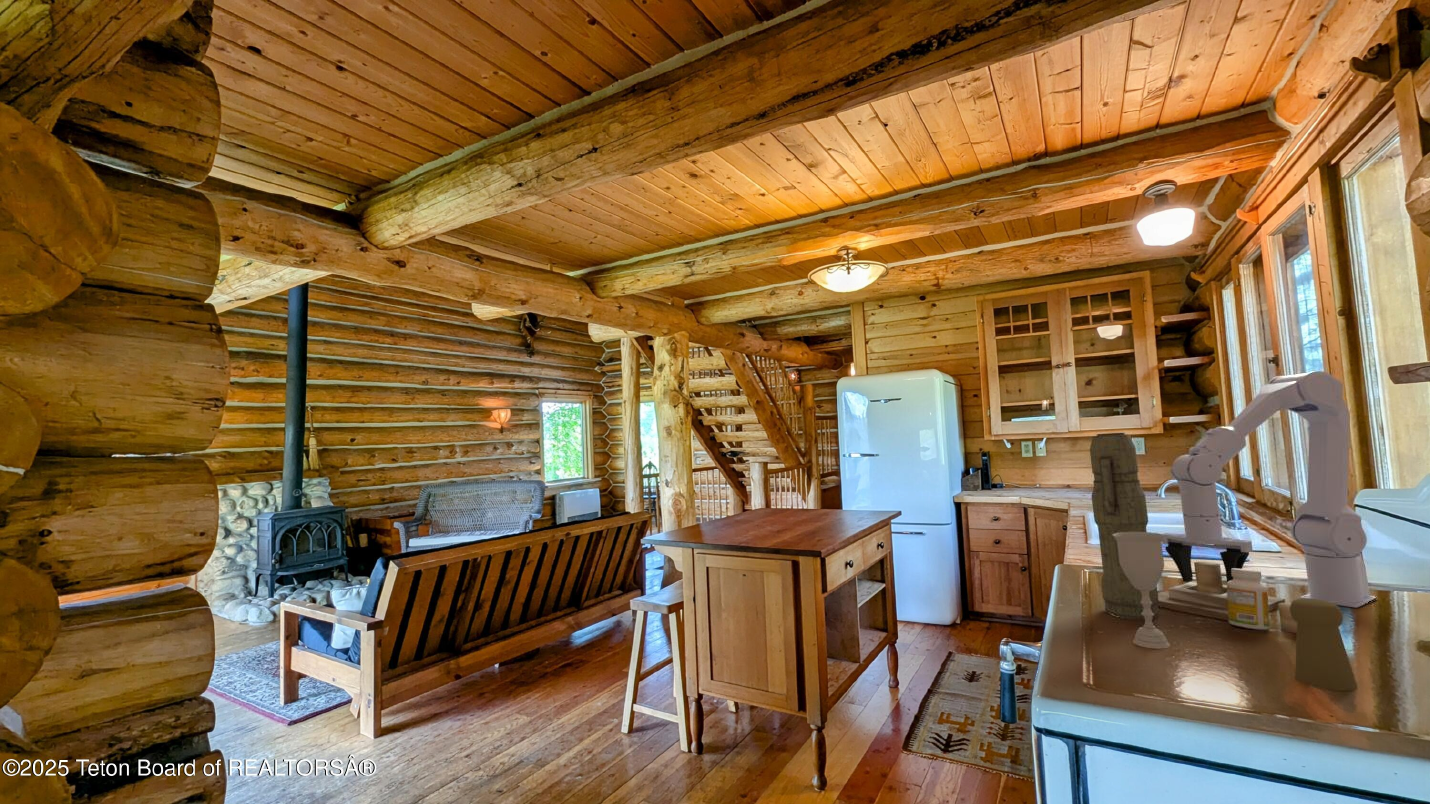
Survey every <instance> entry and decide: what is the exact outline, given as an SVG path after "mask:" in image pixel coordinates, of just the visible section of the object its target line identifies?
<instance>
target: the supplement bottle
mask: <svg viewBox="0 0 1430 804" xmlns="http://www.w3.org/2000/svg"><path fill="white" fill-rule="evenodd" d="M1231 575H1232V576H1233V580H1230V581H1228V582H1227V581H1226V585H1227V599H1228V619H1229V620H1228V623H1229V624H1230V625H1232V626H1236V627H1241V628H1245V629H1250V630H1259V631H1260V630H1262V631H1264V630H1265V631H1267V630H1269V629H1270V613H1269V612H1270V611H1269V609H1268V596H1269V593H1268V587H1267V586H1266V585H1265V584H1263V583H1261V580H1262V578H1263V576H1262V571H1260V570H1254V569H1247V568H1242V569H1238V568H1232V569H1231Z"/></svg>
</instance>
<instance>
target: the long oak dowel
mask: <svg viewBox="0 0 1430 804" xmlns="http://www.w3.org/2000/svg"><path fill="white" fill-rule="evenodd" d="M1193 565H1194V572H1195V581H1196V582H1197V590H1198V591H1201V592H1207V593H1213V594H1219V595H1221V594H1224V591H1223V585H1224V584H1223V577H1222V576H1223V575H1222V568H1221V563H1219V562H1215V561H1194V562H1193Z"/></svg>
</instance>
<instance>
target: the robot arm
mask: <svg viewBox="0 0 1430 804" xmlns="http://www.w3.org/2000/svg"><path fill="white" fill-rule="evenodd" d="M1343 393H1344V384H1343V382H1341V381H1340V380H1339V379H1338V378H1336V377H1334V376H1333V375H1332V374H1330V373H1329V372H1327V371H1321V370H1314V371H1310V372H1305V373H1304V372H1303V373H1298V374H1297V373H1296V374H1291V375H1290V374H1289V375H1278V376H1274V377H1273V378H1271V379H1270V380H1269V381H1268V382H1267V384H1265V385H1263V386H1262V387H1260V389H1259V391H1258V394H1257V395H1256V396H1255V397H1254V398H1253V399H1252V400H1251V401H1250V402H1249V403H1248V404H1247V405H1246V406H1245V407H1244V409H1242V411H1241V412H1240V413H1239V414H1238V415H1237V416H1236V417H1235V418H1234V419H1233V420H1232V421H1230V423H1229V424H1228V425H1227V426H1217V427H1215V428H1209V429H1208V430H1207V431H1206V432H1205V434H1206V436H1205V437H1204V438H1203V439H1202V440H1201V441H1199V443H1197V444H1196V445H1195V446H1191V447H1190V448H1189V449H1188V454H1184V455H1180V456H1178V457H1177V458H1176V459H1175V460H1174V462H1173V463H1172V466H1171V467H1172V468H1170V469H1169V471H1170V472H1169V473H1170V474H1171V476H1172V477H1173V479H1175V480H1176V482H1177V485H1178V488H1179V495H1180V503H1181V511H1182V517H1183V525H1184V533H1171V532H1166V533H1162V534H1163V535H1164V536H1165V537H1164V539H1163V541H1162V545H1163V544H1164V545H1165V544H1166V545H1167V546H1165V548H1164V549H1165V551H1166V552H1167V554H1168V555H1169V556H1170V558H1171V559H1172V561H1173V563H1174V564H1175V566H1176V567H1177V569H1178V571H1179V573H1180V576H1181V579H1182V581H1183V582H1185V583H1189V582H1192V581H1193V580H1194V579H1193V577H1194V576H1193V569H1192V548H1193V547H1199V548H1209V549H1218V550H1224V551H1220V552H1219V555H1220V557H1221V561H1222V563H1223V565H1224V569H1225V576H1226V583H1227V582H1228V581H1230V580H1233V576H1232V575H1231V569H1232V568H1238V569H1243V566H1244V565H1245V562H1246V561H1247V558H1248V557H1249V554H1250V553H1251V552H1253V551H1254V550H1253V544H1252V543H1253V542H1252V540H1244V539H1239V538H1233V537H1225V536H1223V531H1222V530H1223V529H1222V524H1221V523H1222V522H1221V515H1220V509H1219V502H1218V492H1217V485H1216V482H1217V481H1219V480H1220V479H1221V478H1222V475H1223V474H1222V473H1223V468H1224V467H1225V466H1226V465H1227V464H1228V463H1229V462H1230V461H1231V460H1233V458H1234V457H1236V456H1237V455H1238V454H1239V453H1240V452H1241V451H1242V450H1243V449H1245V448H1246V445H1247V440H1246V437H1248V436H1249V435H1250V434H1251V433H1252V432H1254V431H1255V430H1256V429H1257V428H1259V427H1260V426H1261V425H1263V424H1264V423H1265V422H1266V421H1267V420H1269V418H1271V417H1273V415H1275V414H1277V412H1279V411H1282V410H1288V411H1290V412H1293V413H1296V414H1298V415H1299V416H1300V417H1302V418H1303V419H1304V420H1306V421H1307V422H1308V424H1309V432H1308V433H1309V434H1308V436H1309V437H1308V464H1307V465H1308V466H1307V491H1306V492H1307V494H1306V495H1307V496H1306V497H1307V498H1306V501H1305V502H1304V503H1303V504H1302V505H1300V506H1299V507H1298V508H1297V509H1296V516H1295V519H1294V521H1293V522H1292V524H1291V526H1290V534H1291V537H1292V539H1293V540H1294V541H1295V542H1296V543H1297V544H1298V545H1300V547H1301V551H1303V552H1304V553H1303V554H1304V563H1305V569H1306V570H1305V571H1306V576H1307V583H1308V591H1309V592H1308V593H1306V594H1304V595H1301V596H1300V597H1299V599H1306V598H1310V599H1320V600H1325V601H1329V602H1332V603H1334V604H1335V605H1337V606H1341V607H1350V608H1354V609H1355V608H1359V607H1361V606H1364V605H1366V604H1368V602H1369V601H1371V600H1372V599H1374V598H1376V597H1377V596H1376V595H1371V593H1370V588H1369V583H1368V582H1369V581H1368V580H1369V579H1368V575H1367V567H1366V565H1365V562H1364V561H1363V559H1361V554H1360V553H1362V551H1364V549H1365V548H1366V546H1367V543H1368V541H1367V534H1366V533H1365V530H1364V529H1363V524H1362V516H1360V514H1358V513H1357V512H1356V511H1355V510H1354V509H1353V508H1351V507H1350V505H1348V503H1349V502H1348V501H1349V497H1348V496H1349V471H1350V470H1349V467H1350V466H1349V465H1350V463H1349V462H1350V433H1351V430H1350V429H1351V428H1350V427H1351V425H1350V424H1351V414H1350V413H1351V412H1350V410H1349V408H1348V406H1347V404H1346V401H1345V399H1344V397H1343V396H1344V395H1343ZM1375 596H1376V597H1375ZM1371 602H1372V601H1371ZM1365 603H1366V604H1365ZM1369 603H1370V602H1369Z"/></svg>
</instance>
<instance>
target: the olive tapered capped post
mask: <svg viewBox="0 0 1430 804" xmlns="http://www.w3.org/2000/svg"><path fill="white" fill-rule="evenodd" d="M1290 603H1291V605H1290V613H1291V616H1292V618H1293V619H1294V620H1295V621H1296V622H1297V633H1296V646H1295V647H1296V649H1295V671H1294V672H1295V673H1294V674H1295V675H1294V676H1295V677H1294V678H1295V680H1297V681H1299V682H1300V683H1302V684H1305V685H1308V686H1310V685H1311V687H1314V688H1318V689H1325V690H1328V691H1329V690H1330V691H1337V692H1338V691H1340V692H1342V691H1344V692H1345V691H1346V692H1348V691H1354V690H1357V688H1358V684H1357V681H1356V678H1355V675H1354V673H1353V669H1352V666H1351V662H1350V660H1349V656H1348V653H1347V649H1346V647H1345V644H1344V641H1343V636H1342V634H1341V631H1340V630H1341V629H1340V626H1342V624H1343V619H1344V618H1343V617H1344V616H1343V612H1342V610H1341V608H1340V606H1339V605H1335V604H1334V603H1332V602H1329V601H1325V600H1320V599H1310V598H1306V599H1300V598H1296V599H1294V600H1293V601H1292V602H1290Z"/></svg>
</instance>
